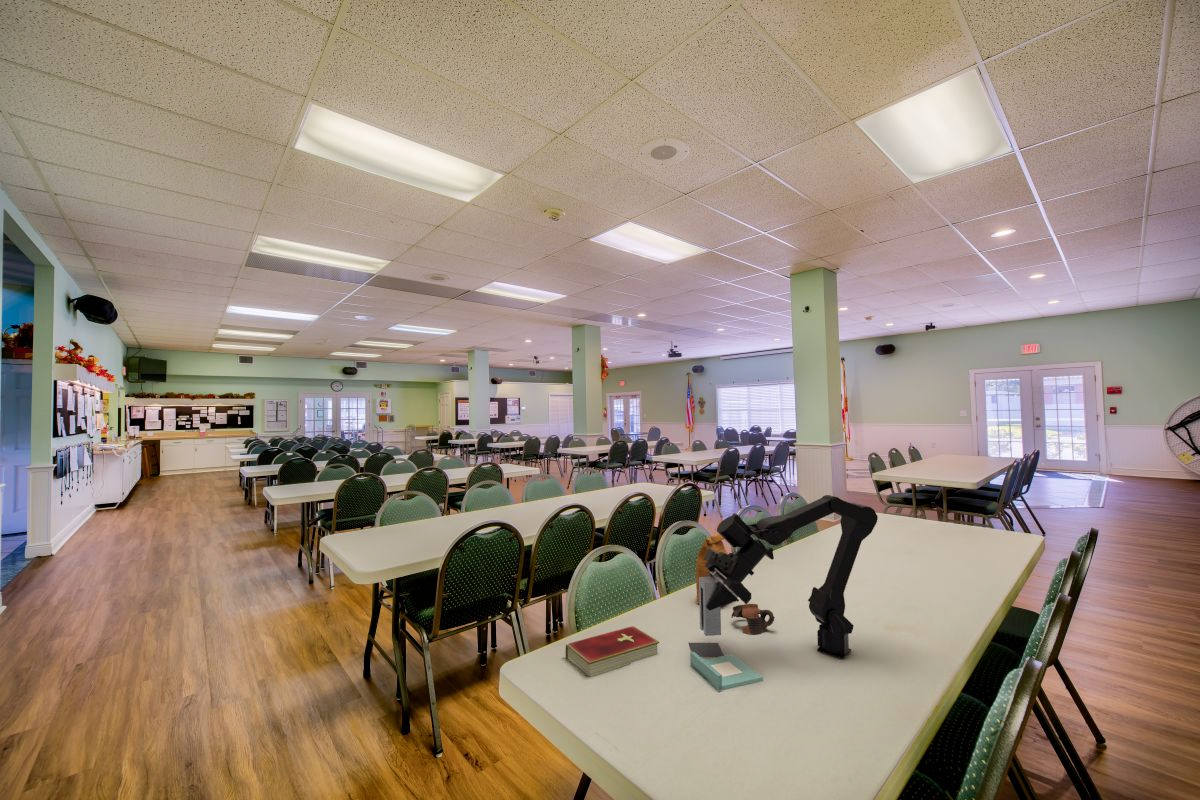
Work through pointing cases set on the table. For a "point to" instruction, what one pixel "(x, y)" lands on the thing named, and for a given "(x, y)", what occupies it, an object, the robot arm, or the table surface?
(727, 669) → the teal base plate
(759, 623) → the pottery mug
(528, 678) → the table surface
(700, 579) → the grey tower block
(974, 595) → the table surface
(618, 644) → the hardcover book
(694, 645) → the mat
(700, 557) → the coffee package
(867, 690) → the table surface
